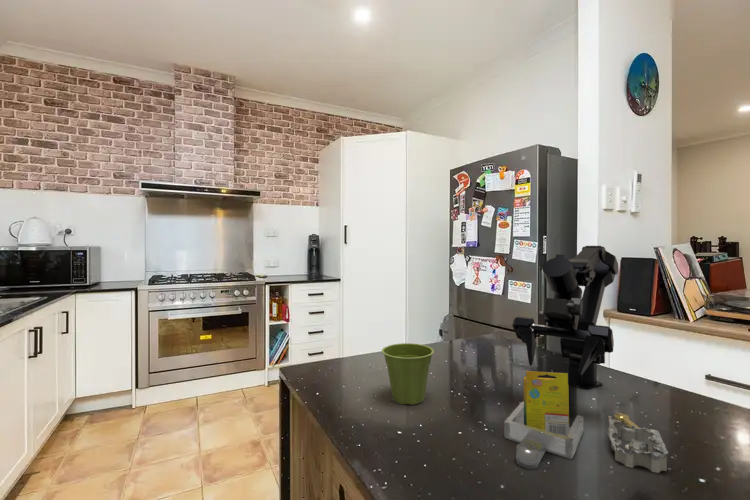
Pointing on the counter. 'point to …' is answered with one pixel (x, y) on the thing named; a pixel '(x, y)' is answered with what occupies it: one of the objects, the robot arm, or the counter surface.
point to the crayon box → (547, 402)
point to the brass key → (624, 419)
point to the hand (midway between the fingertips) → (554, 369)
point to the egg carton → (638, 446)
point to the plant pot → (408, 371)
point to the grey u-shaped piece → (540, 439)
